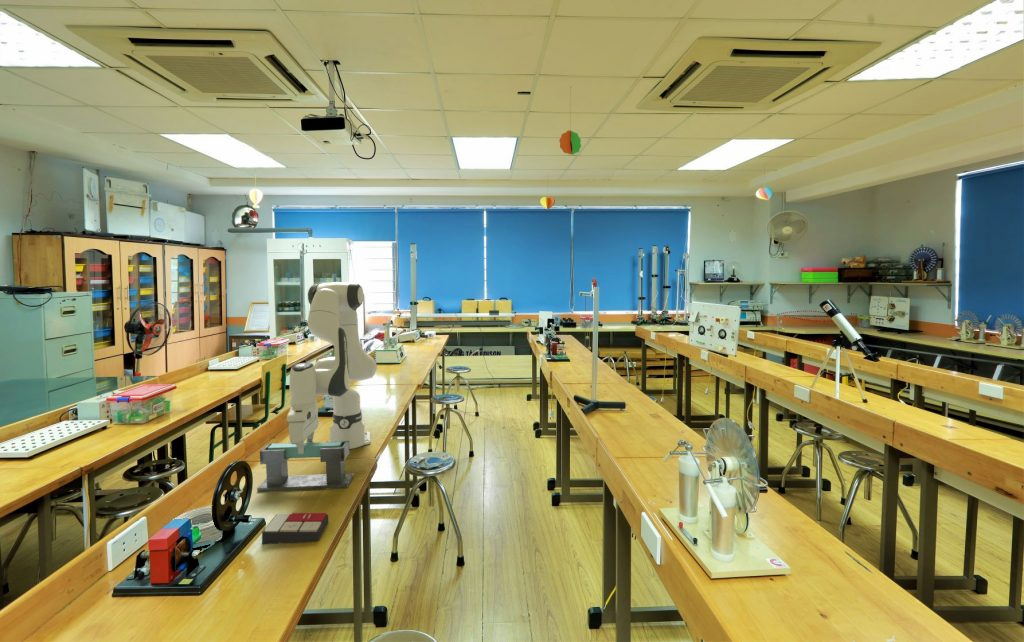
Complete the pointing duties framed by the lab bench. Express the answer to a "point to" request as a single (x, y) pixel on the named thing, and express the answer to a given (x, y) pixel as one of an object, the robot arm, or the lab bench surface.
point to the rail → (310, 449)
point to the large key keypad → (295, 528)
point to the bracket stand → (282, 481)
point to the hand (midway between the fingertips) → (305, 448)
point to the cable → (205, 517)
